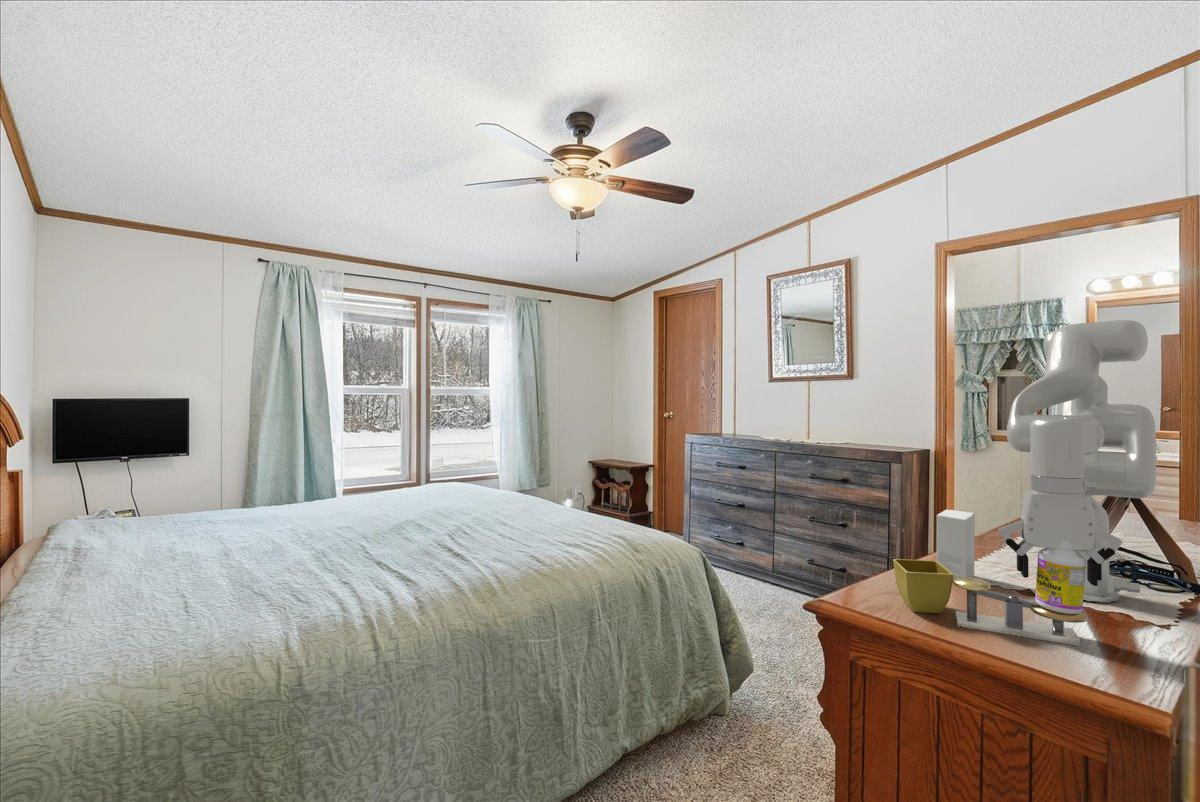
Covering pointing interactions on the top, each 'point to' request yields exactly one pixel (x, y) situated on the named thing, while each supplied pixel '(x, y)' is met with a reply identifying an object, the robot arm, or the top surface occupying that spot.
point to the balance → (1014, 615)
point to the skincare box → (956, 542)
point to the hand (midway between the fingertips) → (1057, 579)
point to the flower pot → (923, 584)
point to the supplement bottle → (1060, 579)
